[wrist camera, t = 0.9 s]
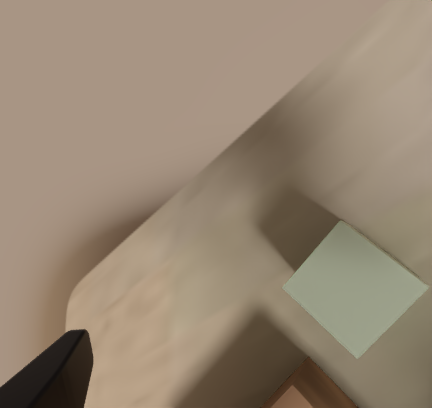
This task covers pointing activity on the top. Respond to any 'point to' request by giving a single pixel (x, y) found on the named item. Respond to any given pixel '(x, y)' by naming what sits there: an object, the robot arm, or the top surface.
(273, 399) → the walnut block
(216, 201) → the top surface
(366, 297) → the sage green block
